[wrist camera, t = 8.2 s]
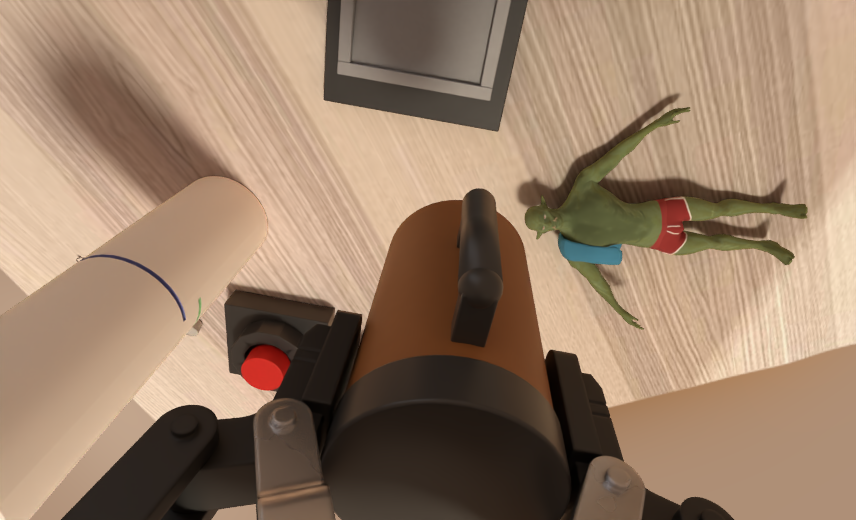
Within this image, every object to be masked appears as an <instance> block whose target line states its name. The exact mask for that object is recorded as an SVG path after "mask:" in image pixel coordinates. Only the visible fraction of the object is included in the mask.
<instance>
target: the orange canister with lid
mask: <svg viewBox="0 0 856 520" xmlns="http://www.w3.org/2000/svg"><path fill="white" fill-rule="evenodd" d="M320 461H321V467H322V472H323V478H324V482H325V483H327V484H328V485H329V488H330V492H331V497H332V503H333V508H334V512H335V513H336V514H337V515H338V517H339V518H340V519H342V520H560V519H561V518H562V516H563V515H564V513H565V511H566V508H567V506H568V503H569V500H570V495H571V476H570V471H569V466H568V460H567V455H566V450H565V445H564V439H563V434H562V430H561V426H560V422H559V420H558V417H557V415H556V413H555V411H554V409H553V404H552V398H551V393H550V387H549V382H548V376H547V370H546V365H545V359H544V354H543V348H542V343H541V337H540V332H539V326H538V321H537V315H536V310H535V304H534V299H533V293H532V288H531V282H530V277H529V271H528V266H527V260H526V255H525V250H524V246H523V243H522V240H521V238H520V236H519V234H518V232H517V231H516V229H515V228H514V227H513V225H512V224H511V223H510V222H509V221H508V220H507V219H506V218H505V217H504V216H502V215H501V214H499V213H498V212H497V211H496V202H495V199H494V197H493V195H492V194H491V193H490V192H488V191H487V190H485V189H473V190H471V191H470V192H468V193H467V194H466V195H465V197H464V199H463V200H449V201H441V202H437V203H433V204H430V205H428V206H425V207H423V208H421V209H419V210H417V211H416V212H414V213H413V214H412V215H410V216H409V217H408V218H407V219H406V220H405V221H404V222H403V223H402V224H401V225H400V226H399V228H398V229H397V231H396V233H395V234H394V236H393V239H392V241H391V244H390V247H389V251H388V254H387V257H386V260H385V264H384V267H383V270H382V273H381V277H380V280H379V283H378V286H377V290H376V293H375V296H374V299H373V303H372V306H371V309H370V312H369V316H368V319H367V322H366V325H365V329H364V332H363V335H362V338H361V342H360V345H359V348H358V351H357V355H356V358H355V361H354V364H353V368H352V371H351V374H350V377H349V381H348V384H347V387H346V390H345V393H344V395H343V396H342V398H341V400H340V401H339V403H338V405H337V407H336V410H335V412H334V415H333V418H332V421H331V425H330V428H329V431H328V434H327V437H326V440H325V444H324V447H323V450H322V453H321V456H320Z"/></svg>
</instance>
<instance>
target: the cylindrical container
mask: <svg viewBox="0 0 856 520" xmlns="http://www.w3.org/2000/svg"><path fill="white" fill-rule="evenodd" d="M267 231H268V222H267V216H266V214H265V211H264V208H263V207H262V205H261V203H260V202H259V200H258V199H257V198H256V197H255V195H254V194H253V193H252V192H251V191H249V190H248V189H247V188H246V187H244V186H243V185H241V184H240V183H238V182H236V181H234V180H231V179H229V178H225V177H220V176H208V177H203V178H200V179H198V180H196V181H194V182H193V183H191V184H190V185H188V186H187V187H186V188H184V189H183V190H181V191H180V192H178V193H177V194H175V195H174V196H173V197H171V198H170V199H168V200H167V201H165V202H164V203H162V204H161V205H159V206H158V207H157V208H155V209H154V210H152V211H151V212H149V213H148V214H146V215H145V216H143V217H142V218H141V219H139V220H138V221H136V222H135V223H133V224H132V225H131V226H129V227H128V228H126V229H125V230H123V231H122V232H121V233H119V234H118V235H116V236H115V237H113V238H112V239H111V240H109V241H108V242H106V243H105V244H103V245H102V246H101V247H99V248H98V249H96V250H95V251H93V252H92V253H90V254H89V255H88V256H86V257H85V258H83V259H82V260H80V261H79V262H78V263H76V264H75V265H73V266H72V267H70V268H69V269H67V270H66V271H65V272H63V273H62V274H60V275H59V276H57V277H56V278H54V279H53V280H51V281H50V282H49V283H47V284H46V285H44V286H43V287H41V288H40V289H38V290H37V291H36V292H34V293H33V294H31V295H30V296H28V297H27V298H25V299H24V300H23V301H21V302H20V303H18V304H17V305H15V306H14V307H12V308H11V309H10V310H8V311H7V312H5V313H4V314H2V315H1V316H0V520H30V518H31V517H32V516H33V515H34V514H35V513H36V511H37V510H38V509H39V508H40V506H41V505H42V504H43V503H44V502H45V501H46V499H47V498H48V497H49V496H50V495H51V493H52V492H53V491H54V490H55V489H56V488H57V487H58V485H59V484H60V483H61V482H62V481H63V479H64V478H65V477H66V476H67V475H68V474H69V472H70V471H71V470H72V469H73V468H74V466H75V465H76V464H77V463H78V462H79V461H80V459H81V458H82V457H83V456H84V455H85V453H86V452H87V451H88V450H89V449H90V447H91V446H92V445H93V444H94V443H95V442H96V440H97V439H98V438H99V437H100V436H101V435H102V433H103V432H104V431H105V430H106V429H107V427H108V426H109V425H110V424H111V423H112V421H113V420H114V419H115V418H116V417H117V415H118V414H119V413H120V412H121V411H122V410H123V408H124V407H125V406H126V405H127V404H128V403H129V401H130V400H131V399H132V398H133V397H134V395H135V394H136V393H137V392H138V391H139V390H140V388H141V387H142V386H143V385H144V384H145V382H146V381H147V380H148V379H149V378H150V377H151V375H152V374H153V373H154V372H155V371H156V369H157V368H158V367H159V366H160V365H161V364H162V362H163V361H164V360H165V359H166V358H167V356H168V355H169V354H170V353H171V352H172V351H173V349H174V348H175V347H176V346H177V345H178V343H179V342H180V341H181V340H182V339H183V338H184V336H185V335H186V334H187V333H188V332H189V330H190V329H191V328H192V327H193V326H194V325H195V323H196V322H197V321H198V320H199V319H200V317H201V316H202V315H203V314H204V313H205V312H206V310H207V309H208V308H209V307H210V306H211V304H212V303H213V302H214V301H215V300H216V298H217V297H218V296H219V295H220V294H221V293H222V291H223V290H224V289H225V288H226V287H227V285H228V284H229V283H230V282H231V281H232V280H233V278H234V277H235V276H236V275H237V274H238V272H239V271H240V270H241V269H242V268H243V267H244V265H245V264H246V263H247V262H248V261H249V259H250V258H251V257H252V256H253V255H254V254H255V252H256V251H257V250H258V249H259V248H260V246H261V245H262V244H263V242H264V240H265V239H266V235H267Z"/></svg>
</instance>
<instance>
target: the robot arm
mask: <svg viewBox="0 0 856 520" xmlns="http://www.w3.org/2000/svg"><path fill="white" fill-rule="evenodd" d="M361 324H362V314H357V313H352V312H346V311H341V310H338V311H337V313H336V315H335V318H334V320H333V322H332V325H331V326H327V325H322V324H316V325H315V326H313V327H312V328H311V329H310V330H308V331H307V332H306V333H305V334H304V336H303V338H302V340H301V342H300V344H299V347H298V349H297V351H296V353H295V355H294V358H293V359H292V361H291V363H290V366H289V368H288V370H287V372H286V374H285V376H284V378H283V380H282V382H281V385H280V387H279V389H278V391H277V393H276V395H275V397H274V399H273V400H272V401H271V402H268V403H267V404H265V405H264V406H262V407H261V408H260V409H259V410H258V412H257V413H255V414H253V415H250V416H246V417H240V418H230V419H220V420H217V417H216V415H215V414H214V413H213V412H212V411H211V410H210V409H208V408H206V407H204V406H200V405H186V406H181V407H177V408H175V409H172V410H170V411H169V412H167V413H165V414H164V415H162V416H161V417H160V418H159V419H158V420H157V421H156V422H155V423H154V424H153V425H152V426H151V427H150V428H149V429H148V430H147V431H146V432H145V434H144V435H143V436H142V437H141V438H140V439H139V440H138V441H137V442H136V443H135V444H134V445H133V446H132V447H131V448H130V449H129V450H128V451H127V452H126V453H125V454H124V455H123V456H122V457H121V458H120V459H119V460H118V461H117V462H116V463H115V464H114V465H113V467H112V468H111V469H110V470H109V471H108V472H107V473H106V474H105V475H104V476H103V477H102V478H101V479H100V480H99V481H98V482H97V483H96V484H95V485H94V486H93V487H92V488H91V489H90V490H89V491H88V492H87V493H86V494H85V495H84V497H82V498H81V500H80V501H79V502H78V503H77V504H76V505H75V506H74V507H73V508H72V509H71V510H70V511H69V512H68V513H67V514H66V515H65V516H64V517H63V518H62V519H61V520H211V519H212V518H213V516H214V515H215V514H216V512H217V511H218V509H224V508H230V507H237V506H244V505H251V504H256V514H257V520H336V519H335V514H334V508H333V503H332V497H331V492H330V488H329V485H328V484H327V483H325V482H324V478H323V472H322V467H321V461H320V456H321V453H322V450H323V447H324V444H325V440H326V437H327V434H328V431H329V428H330V425H331V421H332V418H333V415H334V412H335V410H336V407H337V405H338V403H339V401H340V400H341V398H342V396H343V395H344V393H345V390H346V387H347V384H348V381H349V377H350V374H351V371H352V368H353V364H354V361H355V358H356V355H357V351H358V348H359V341H360V333H361ZM545 365H546V370H547V376H548V382H549V387H550V393H551V398H552V404H553V409H554V411H555V413H556V415H557V417H558V420H559V422H560V426H561V430H562V434H563V439H564V445H565V450H566V455H567V460H568V466H569V471H570V476H571V495H570V500H569V503H568V506H567V508H566V511H565V513H564V515H563V516H562V518H561V520H734V519H733V518H732V517H731V516H730V515H729V514H728V513H727V512H726V511H725V510H724V509H723V508H721V507H720V506H718V505H717V504H715V503H713V502H711V501H709V500H707V499H704V498H700V497H691V498H688V499H686V500H685V501H684V502H683V503H682V504H681V506H680V505H678V504H676V503H674V502H672V501H670V500H667V499H665V498H663V497H661V496H659V495H657V494H655V493H653V492H651V491H649V490H648V489H646V488H645V486H644V483H643V481H642V479H641V478H640V476H639V475H638V473H637V472H636V471H635V470H634V469H633V468H632V467H630V466H629V465H628V464H626V463H625V462H624V460H623V457H622V454H621V450H620V447H619V444H618V440H617V437H616V434H615V430H614V428H613V424H612V421H611V418H610V414H609V410H608V407H607V406H606V401H605V397H604V394H603V391H602V388H601V387H600V385H599V384H598V383H597V382H596V380H595V379H594V378H593V376H592V375H591V374H586V373H581V369H580V365H579V361H578V358H577V356H576V354H572V353H566V352H561V351H555V350H550V351H549V352H548V354H547V356H546V359H545Z"/></svg>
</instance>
